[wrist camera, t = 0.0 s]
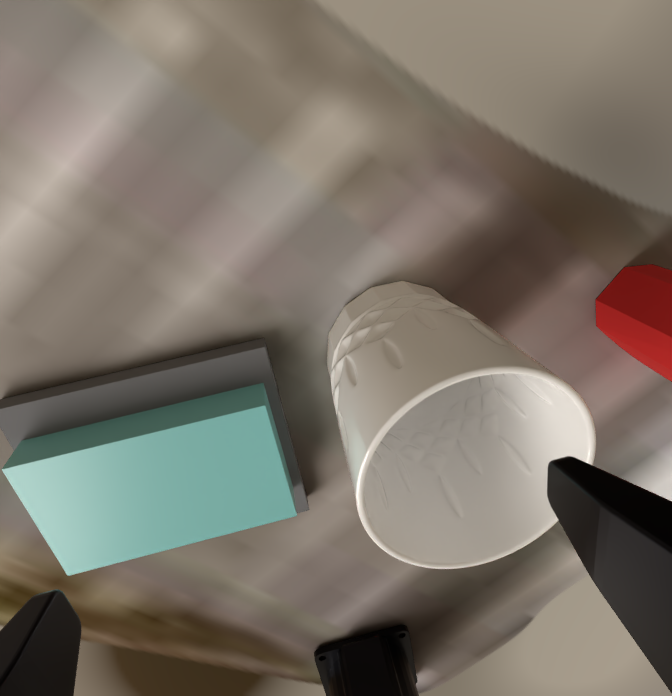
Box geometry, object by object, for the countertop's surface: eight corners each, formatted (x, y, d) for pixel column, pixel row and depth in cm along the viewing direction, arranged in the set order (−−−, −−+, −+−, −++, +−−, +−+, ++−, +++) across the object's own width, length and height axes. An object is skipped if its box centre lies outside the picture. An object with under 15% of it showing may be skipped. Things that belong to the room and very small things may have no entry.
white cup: (280, 359, 24) (303, 507, 15) (393, 232, 22) (496, 313, 13) (392, 438, 27) (467, 599, 18) (499, 333, 25) (640, 453, 16)
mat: (307, 497, 27) (309, 510, 27) (89, 553, 27) (84, 568, 26) (264, 338, 23) (265, 346, 22) (0, 399, 22) (-10, 411, 21)
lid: (293, 487, 26) (297, 515, 24) (80, 542, 25) (67, 575, 23) (263, 382, 23) (265, 405, 21) (21, 440, 22) (1, 469, 20)
